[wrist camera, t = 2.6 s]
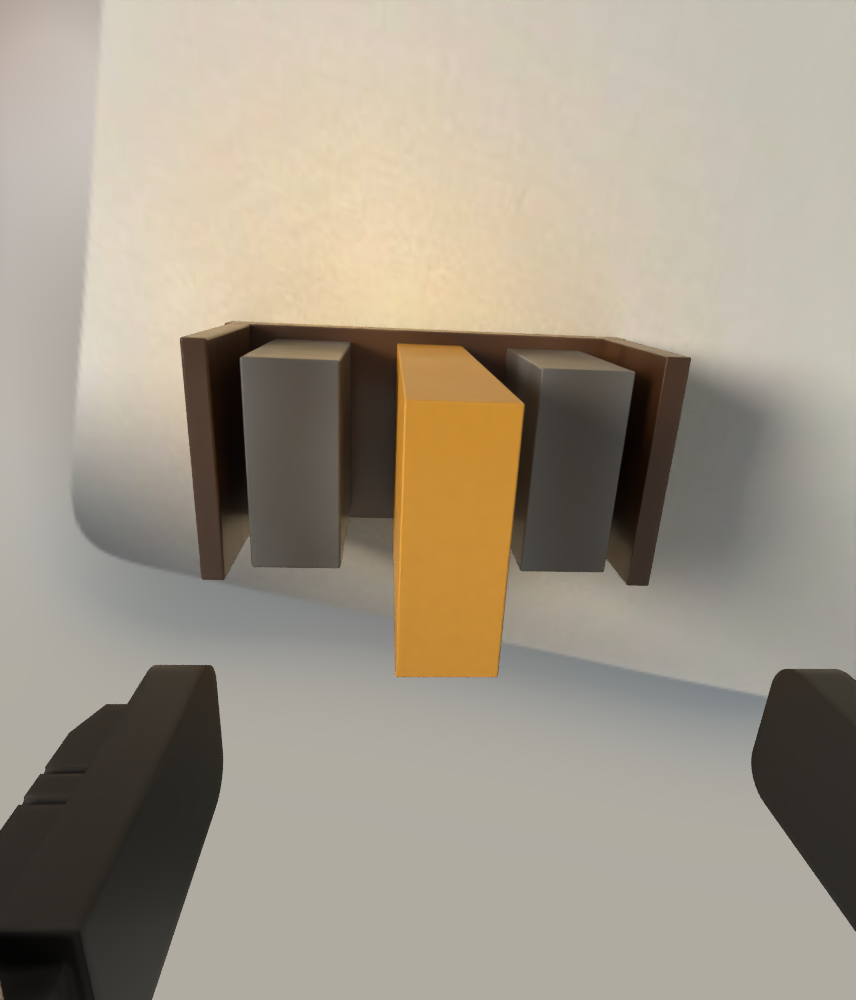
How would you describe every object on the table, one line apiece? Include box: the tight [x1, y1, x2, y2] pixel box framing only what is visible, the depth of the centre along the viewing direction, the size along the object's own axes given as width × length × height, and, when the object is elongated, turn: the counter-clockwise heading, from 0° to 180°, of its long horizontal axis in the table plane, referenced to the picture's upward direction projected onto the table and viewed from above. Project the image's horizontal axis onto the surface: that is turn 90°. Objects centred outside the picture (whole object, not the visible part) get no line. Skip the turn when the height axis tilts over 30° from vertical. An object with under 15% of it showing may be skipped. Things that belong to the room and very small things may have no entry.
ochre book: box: [393, 343, 525, 677], centre depth 20 cm, size 3×7×12 cm, turn 177°
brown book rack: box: [180, 321, 691, 586], centre depth 23 cm, size 16×8×7 cm, turn 87°
